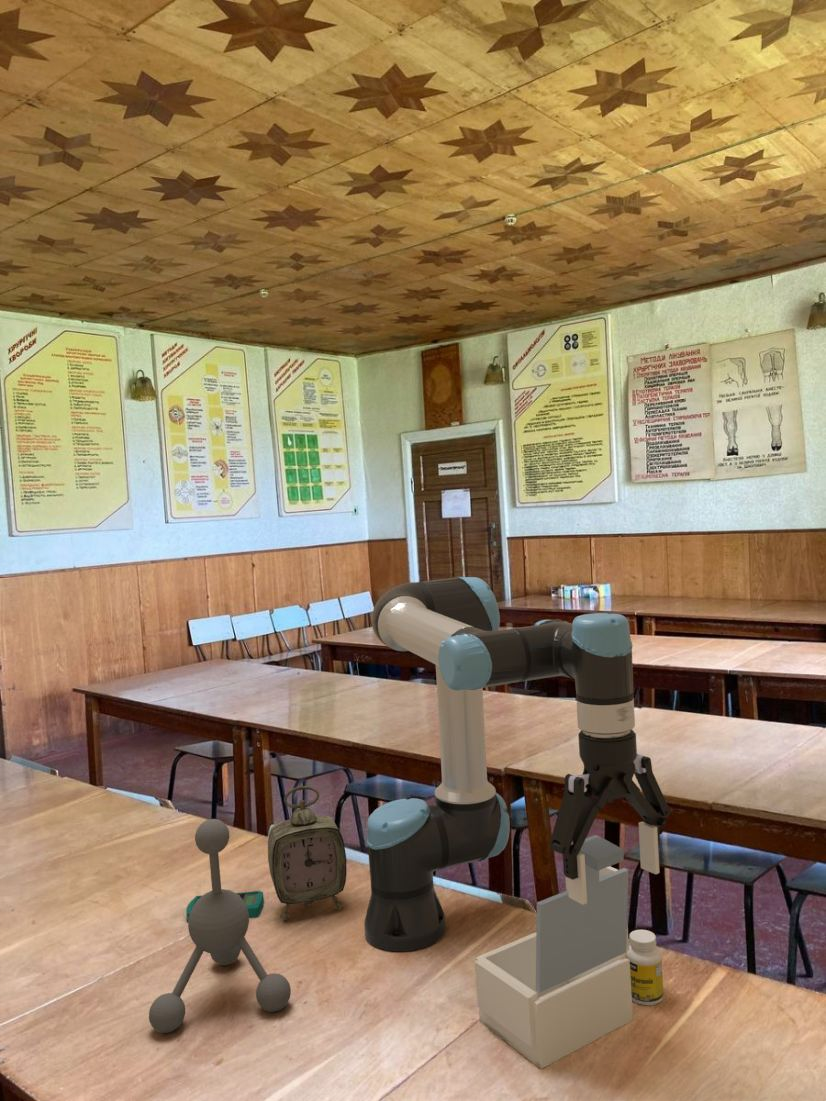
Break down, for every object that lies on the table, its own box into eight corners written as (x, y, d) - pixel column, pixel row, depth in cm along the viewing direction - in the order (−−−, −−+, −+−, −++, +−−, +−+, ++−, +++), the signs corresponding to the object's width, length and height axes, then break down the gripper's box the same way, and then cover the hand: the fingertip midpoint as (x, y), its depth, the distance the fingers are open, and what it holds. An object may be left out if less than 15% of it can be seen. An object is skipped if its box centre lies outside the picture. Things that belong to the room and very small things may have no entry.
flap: (537, 855, 116) (564, 872, 112) (625, 824, 125) (653, 838, 121) (535, 989, 119) (561, 1011, 115) (622, 949, 128) (649, 968, 124)
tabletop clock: (276, 926, 165) (266, 798, 164) (270, 906, 174) (261, 785, 172) (350, 911, 169) (341, 786, 168) (341, 892, 178) (332, 773, 176)
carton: (475, 1023, 130) (466, 881, 129) (572, 978, 140) (564, 846, 139) (536, 1071, 118) (526, 915, 117) (636, 1017, 129) (628, 874, 127)
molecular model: (116, 1009, 141) (100, 829, 139) (231, 953, 156) (218, 791, 155) (190, 1069, 124) (173, 866, 122) (311, 1000, 139) (297, 819, 138)
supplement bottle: (622, 999, 133) (618, 938, 133) (636, 983, 138) (633, 923, 137) (655, 1010, 130) (652, 947, 130) (669, 993, 134) (666, 932, 134)
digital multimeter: (192, 907, 177) (191, 893, 176) (265, 902, 177) (264, 888, 177) (184, 925, 169) (182, 910, 169) (259, 919, 170) (258, 904, 169)
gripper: (555, 756, 105) (565, 925, 106) (691, 717, 118) (699, 867, 120) (516, 743, 111) (525, 903, 113) (650, 708, 125) (657, 851, 126)
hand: (615, 885), depth 116 cm, fingers open, 13 cm apart
